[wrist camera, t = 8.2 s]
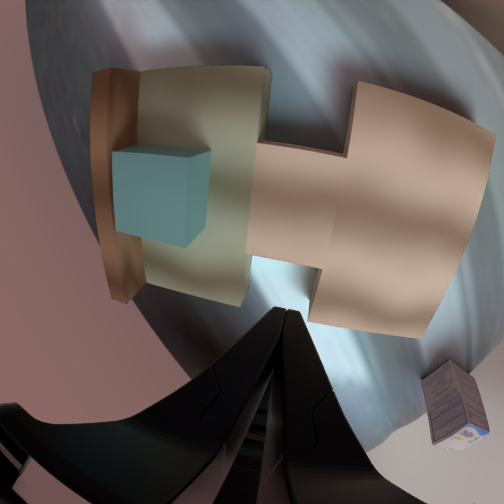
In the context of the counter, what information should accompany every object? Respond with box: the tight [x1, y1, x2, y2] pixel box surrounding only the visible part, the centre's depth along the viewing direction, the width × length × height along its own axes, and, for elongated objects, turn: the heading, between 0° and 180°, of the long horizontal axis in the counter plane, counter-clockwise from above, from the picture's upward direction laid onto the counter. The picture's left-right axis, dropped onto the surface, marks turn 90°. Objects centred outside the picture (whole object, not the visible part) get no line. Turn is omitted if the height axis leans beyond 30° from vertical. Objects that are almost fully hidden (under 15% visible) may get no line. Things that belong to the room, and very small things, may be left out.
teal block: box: [112, 144, 212, 248], centre depth 15 cm, size 5×5×3 cm
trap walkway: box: [90, 65, 496, 339], centre depth 15 cm, size 16×24×6 cm, turn 84°
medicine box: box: [421, 359, 489, 451], centre depth 18 cm, size 8×4×9 cm, turn 58°
